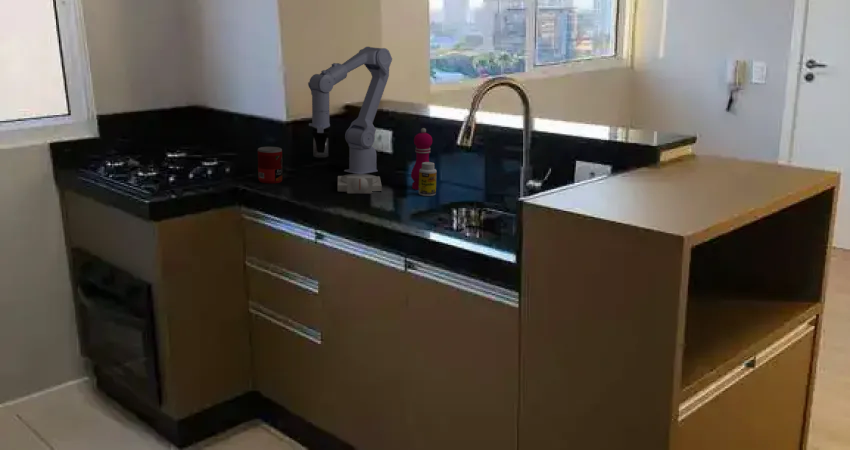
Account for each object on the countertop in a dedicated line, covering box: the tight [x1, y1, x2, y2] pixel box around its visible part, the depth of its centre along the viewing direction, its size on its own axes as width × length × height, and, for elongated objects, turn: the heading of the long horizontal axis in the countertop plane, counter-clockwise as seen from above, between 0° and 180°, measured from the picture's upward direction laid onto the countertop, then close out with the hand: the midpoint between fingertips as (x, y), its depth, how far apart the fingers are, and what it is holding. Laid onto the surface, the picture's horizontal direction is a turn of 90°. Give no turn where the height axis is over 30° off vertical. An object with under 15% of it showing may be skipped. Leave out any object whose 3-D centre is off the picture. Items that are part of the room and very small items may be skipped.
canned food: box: [257, 146, 283, 185], centre depth 270 cm, size 8×8×11 cm
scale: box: [337, 173, 383, 194], centre depth 266 cm, size 17×14×5 cm
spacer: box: [312, 137, 329, 158], centre depth 276 cm, size 5×5×6 cm
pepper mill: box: [410, 127, 433, 191], centre depth 265 cm, size 7×7×20 cm
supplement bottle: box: [418, 161, 438, 197], centre depth 259 cm, size 6×6×10 cm
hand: (320, 150), depth 276 cm, fingers closed on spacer, 5 cm apart
